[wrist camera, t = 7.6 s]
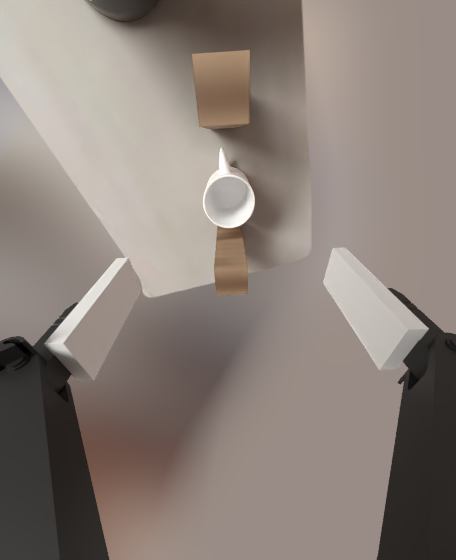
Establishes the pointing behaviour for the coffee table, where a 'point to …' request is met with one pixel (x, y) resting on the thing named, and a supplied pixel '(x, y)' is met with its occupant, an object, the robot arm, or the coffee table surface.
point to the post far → (230, 262)
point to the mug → (228, 196)
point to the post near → (222, 88)
